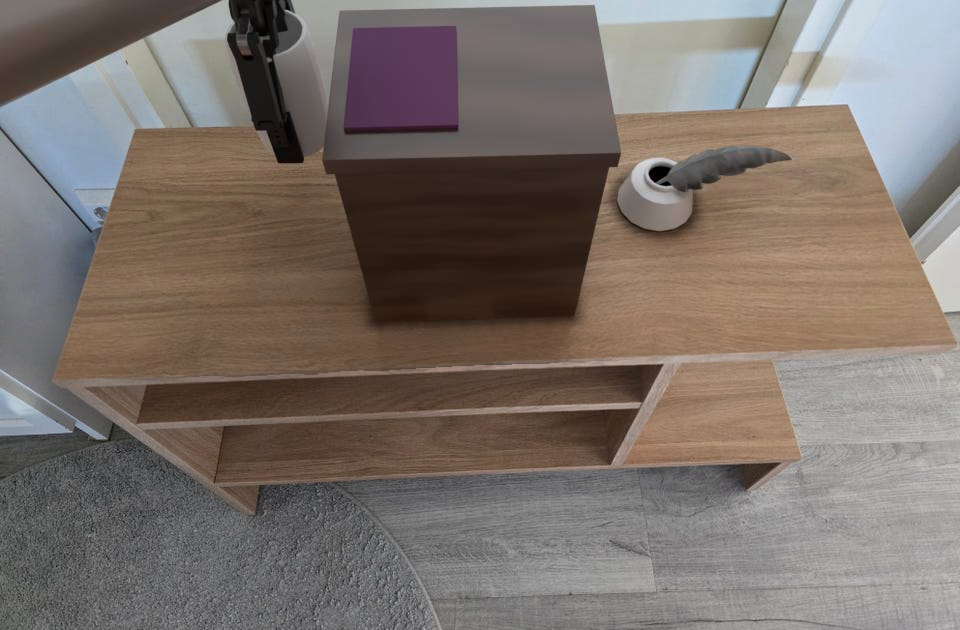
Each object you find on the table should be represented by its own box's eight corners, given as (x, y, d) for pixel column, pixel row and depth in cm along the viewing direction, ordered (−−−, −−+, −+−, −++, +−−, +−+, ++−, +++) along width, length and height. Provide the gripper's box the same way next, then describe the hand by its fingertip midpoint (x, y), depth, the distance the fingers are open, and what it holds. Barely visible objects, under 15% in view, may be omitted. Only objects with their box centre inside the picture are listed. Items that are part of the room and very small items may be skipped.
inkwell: (613, 173, 85) (628, 113, 77) (756, 174, 85) (787, 113, 77) (620, 232, 81) (636, 175, 72) (772, 233, 81) (806, 175, 72)
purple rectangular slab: (458, 128, 54) (458, 124, 53) (344, 131, 54) (343, 127, 53) (456, 29, 60) (456, 25, 59) (353, 31, 60) (353, 27, 59)
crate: (579, 320, 75) (621, 153, 52) (370, 326, 75) (322, 160, 52) (564, 193, 84) (594, 4, 61) (378, 198, 84) (339, 10, 61)
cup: (279, 109, 80) (244, -2, 68) (347, 122, 79) (323, 12, 67) (249, 161, 76) (205, 53, 63) (320, 175, 74) (289, 68, 62)
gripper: (259, 5, 51) (320, 203, 70) (293, -141, 62) (337, 66, 81) (158, 7, 51) (247, 204, 70) (210, -140, 62) (274, 67, 81)
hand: (295, 130), depth 76 cm, fingers closed on cup, 8 cm apart
